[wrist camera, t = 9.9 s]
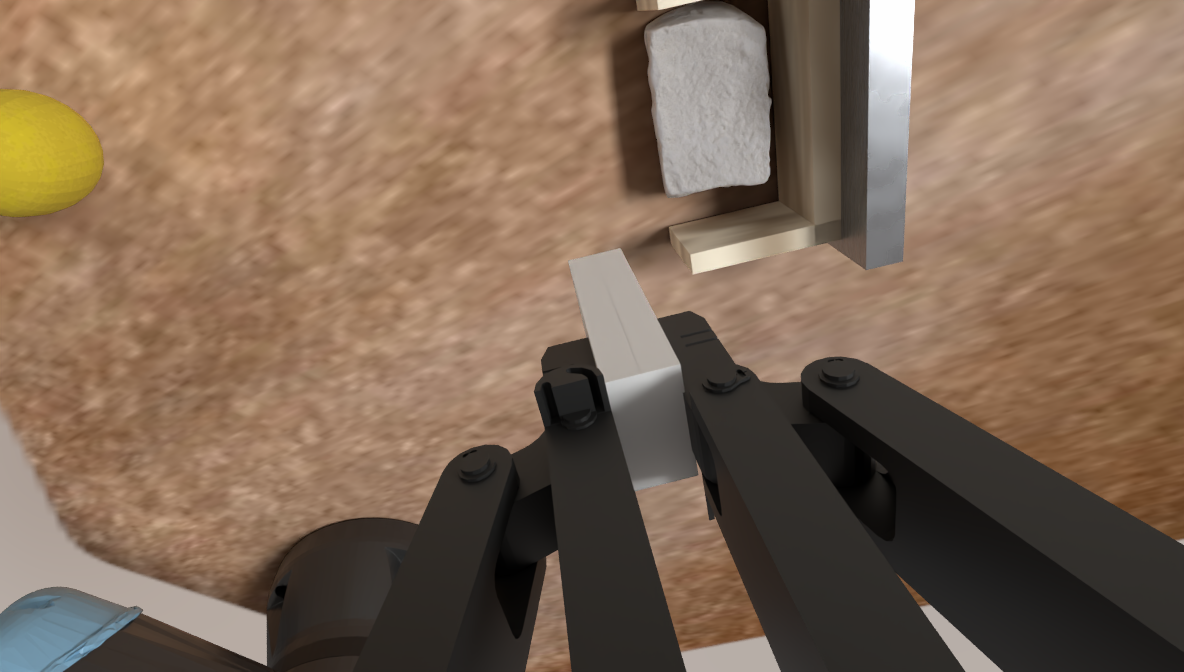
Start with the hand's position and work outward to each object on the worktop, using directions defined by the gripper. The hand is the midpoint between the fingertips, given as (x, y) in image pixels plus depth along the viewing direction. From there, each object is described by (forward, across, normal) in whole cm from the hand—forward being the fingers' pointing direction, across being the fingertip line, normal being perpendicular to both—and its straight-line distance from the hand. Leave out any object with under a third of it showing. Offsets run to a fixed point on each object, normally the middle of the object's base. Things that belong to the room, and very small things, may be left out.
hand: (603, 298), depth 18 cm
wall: (+20, -16, 0) cm, 26 cm away
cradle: (+20, -10, 0) cm, 22 cm away
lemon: (+21, +24, -6) cm, 32 cm away
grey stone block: (+21, -9, -1) cm, 23 cm away
